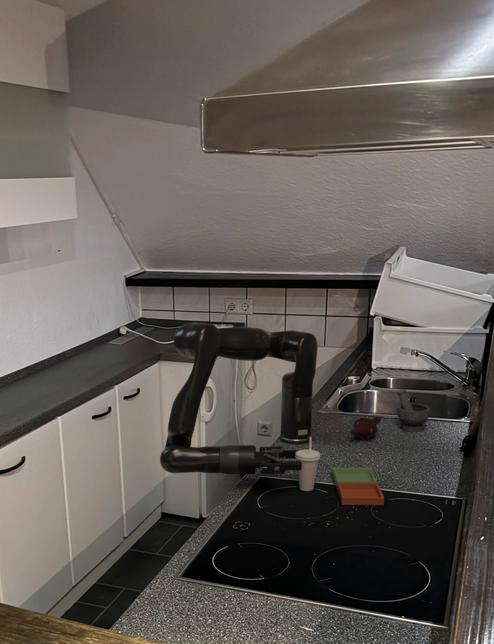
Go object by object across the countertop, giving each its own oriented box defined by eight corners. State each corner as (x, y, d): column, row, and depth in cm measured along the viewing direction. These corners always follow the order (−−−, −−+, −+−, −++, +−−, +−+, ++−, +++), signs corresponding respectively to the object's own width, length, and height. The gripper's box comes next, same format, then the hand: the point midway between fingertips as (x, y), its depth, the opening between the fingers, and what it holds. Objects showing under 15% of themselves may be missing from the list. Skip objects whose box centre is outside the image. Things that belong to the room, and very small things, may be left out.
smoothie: (318, 493, 196) (321, 441, 191) (293, 492, 197) (295, 440, 192) (319, 484, 201) (321, 433, 196) (294, 483, 203) (296, 433, 198)
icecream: (365, 427, 225) (391, 420, 235) (344, 416, 229) (371, 410, 239) (357, 448, 228) (383, 440, 238) (337, 437, 233) (364, 429, 243)
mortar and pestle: (434, 428, 242) (437, 392, 238) (416, 435, 237) (420, 397, 233) (403, 421, 251) (406, 385, 246) (386, 427, 245) (389, 390, 241)
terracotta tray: (336, 489, 198) (337, 482, 197) (377, 489, 197) (377, 482, 196) (341, 504, 188) (342, 497, 188) (383, 505, 188) (384, 498, 187)
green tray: (332, 474, 208) (332, 467, 207) (370, 474, 207) (370, 467, 206) (336, 488, 199) (336, 481, 198) (376, 488, 198) (377, 481, 197)
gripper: (237, 455, 190) (303, 455, 188) (237, 437, 203) (299, 437, 202) (237, 483, 193) (302, 483, 191) (237, 463, 206) (298, 463, 204)
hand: (300, 459), depth 196 cm, fingers open, 8 cm apart
